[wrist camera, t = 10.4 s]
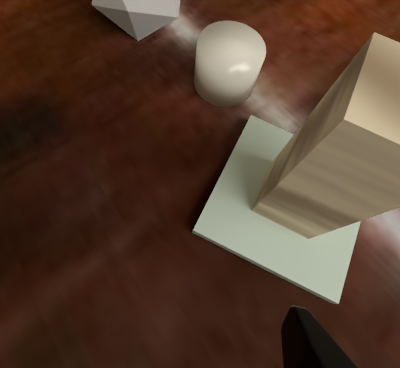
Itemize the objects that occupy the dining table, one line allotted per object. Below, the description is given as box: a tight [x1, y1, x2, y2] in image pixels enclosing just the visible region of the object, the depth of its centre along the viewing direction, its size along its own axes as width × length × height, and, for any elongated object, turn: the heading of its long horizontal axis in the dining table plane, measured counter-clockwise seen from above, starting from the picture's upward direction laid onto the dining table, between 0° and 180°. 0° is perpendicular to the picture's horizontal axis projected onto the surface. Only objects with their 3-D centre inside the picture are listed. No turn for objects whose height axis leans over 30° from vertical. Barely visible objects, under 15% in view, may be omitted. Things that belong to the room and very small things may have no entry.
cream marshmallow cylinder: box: [194, 21, 266, 107], centre depth 26 cm, size 6×6×4 cm
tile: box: [192, 115, 361, 304], centre depth 23 cm, size 12×12×1 cm
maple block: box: [251, 32, 400, 239], centre depth 17 cm, size 5×5×13 cm
